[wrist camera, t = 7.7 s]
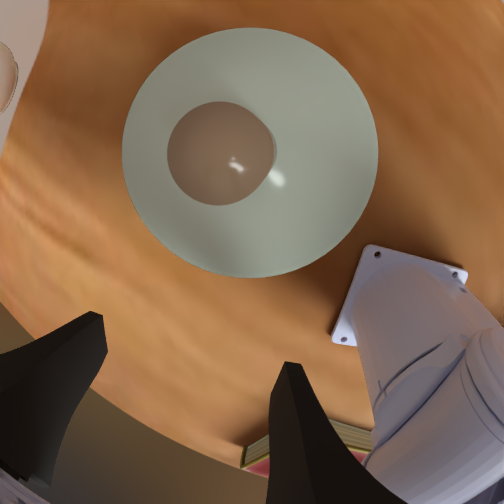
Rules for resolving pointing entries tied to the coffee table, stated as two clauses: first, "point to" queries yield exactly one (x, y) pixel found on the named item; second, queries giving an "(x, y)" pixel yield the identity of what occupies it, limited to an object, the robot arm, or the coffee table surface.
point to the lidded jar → (7, 76)
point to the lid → (250, 152)
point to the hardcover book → (353, 437)
